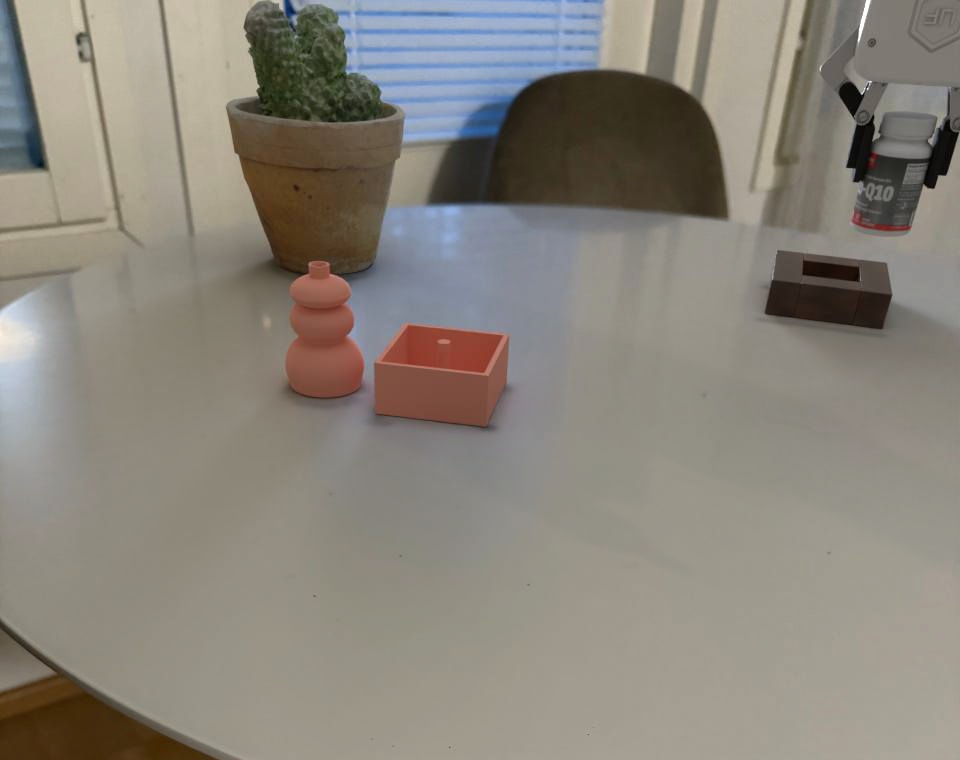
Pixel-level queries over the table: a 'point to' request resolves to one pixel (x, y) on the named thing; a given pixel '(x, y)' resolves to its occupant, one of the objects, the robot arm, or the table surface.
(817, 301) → the holder
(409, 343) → the pottery
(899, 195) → the pill bottle
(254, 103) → the potted plant
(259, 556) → the table surface
